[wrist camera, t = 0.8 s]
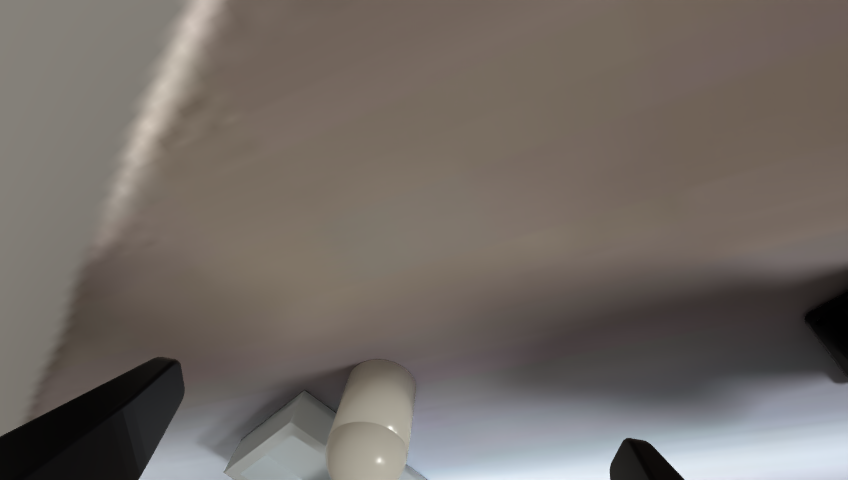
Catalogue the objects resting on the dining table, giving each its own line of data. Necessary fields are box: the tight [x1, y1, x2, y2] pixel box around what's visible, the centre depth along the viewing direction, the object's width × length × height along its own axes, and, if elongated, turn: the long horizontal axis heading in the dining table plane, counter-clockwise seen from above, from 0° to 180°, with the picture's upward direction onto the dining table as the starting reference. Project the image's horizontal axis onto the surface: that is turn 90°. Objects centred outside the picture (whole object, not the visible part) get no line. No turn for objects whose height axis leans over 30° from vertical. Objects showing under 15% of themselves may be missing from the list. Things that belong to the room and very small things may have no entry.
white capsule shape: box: [325, 359, 416, 480], centre depth 23 cm, size 4×4×7 cm
